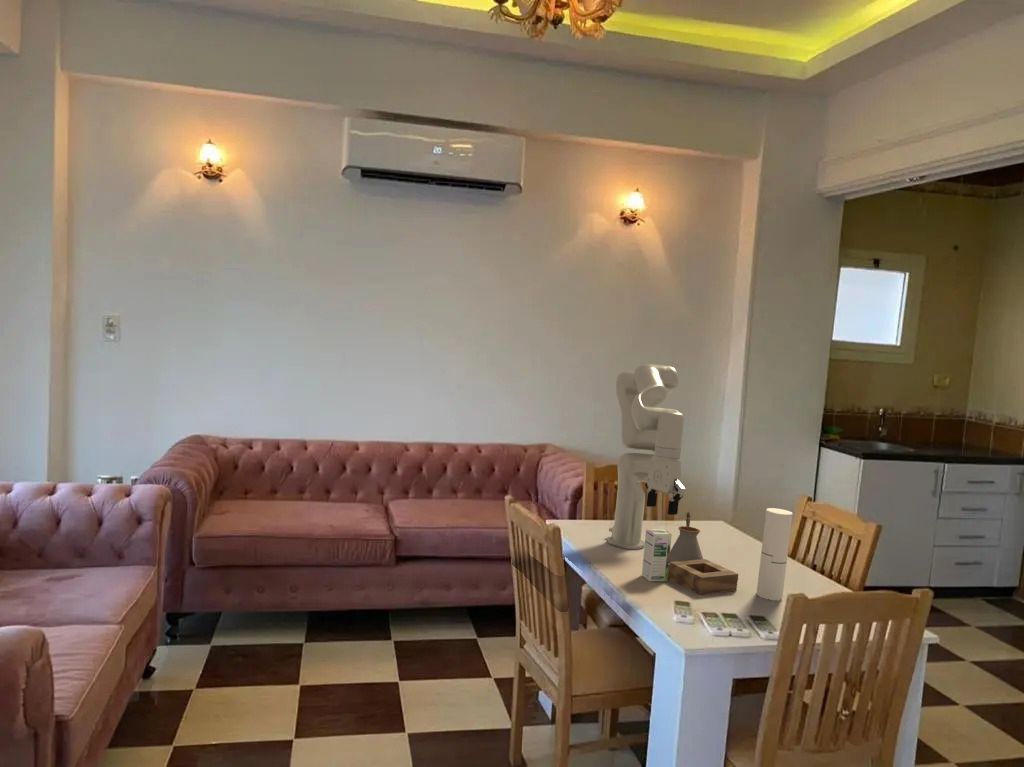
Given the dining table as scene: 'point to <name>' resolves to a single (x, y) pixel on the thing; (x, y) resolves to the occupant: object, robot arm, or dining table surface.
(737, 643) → the dining table surface
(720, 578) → the mount block
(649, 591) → the dining table surface
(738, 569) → the dining table surface
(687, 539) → the coffee pot
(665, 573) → the syrup box
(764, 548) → the cylindrical container
